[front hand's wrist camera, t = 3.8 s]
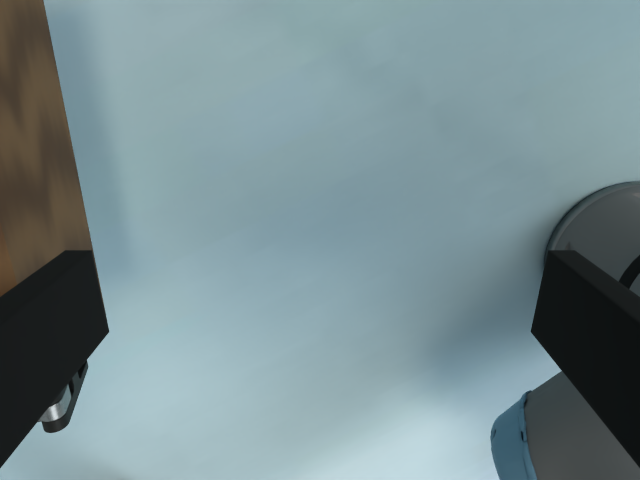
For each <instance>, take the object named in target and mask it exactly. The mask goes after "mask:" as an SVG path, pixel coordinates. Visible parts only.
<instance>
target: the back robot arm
mask: <svg viewBox="0 0 640 480" xmlns="http://www.w3.org/2000/svg"><path fill="white" fill-rule="evenodd" d="M87 369H88V363H87V360H86V361H85V363H84V364H83V365H82V366H81V368H80V369H79V370H78V371H77V373H76V374H75V375H74V376H73V378H72V379H71V380H70V381H69V383H68V384H67V385H66V386H65V388H64V389H63V390H62V391H61V393H60V394H59V395H58V396H57V398H56V399H55V400H54V401H53V403H52V404H51V405H50V407H49V408H48V409H47V410H46V412H45V413H44V414H43V415H42V417H41V418H40V419H39V420H38V422H40V421H42V425H43V428H44V431H45V432H47V433H54V432H57V431H60V430H62V429H64V428H65V427H66V426H67V425H68V424H69V422H70V419H71V416H72V413H73V410H74V407H75V404H76V401H77V398H78V396H79V393H80V390H81V387H82V384H83V381H84V378H85V375H86V372H87Z"/></svg>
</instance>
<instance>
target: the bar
mask: <svg viewBox="0 0 640 480" xmlns="http://www.w3.org/2000/svg"><path fill="white" fill-rule="evenodd" d="M65 250H92V253H93V248H92V243H91V238H90V233H89V228H88V223H87V218H86V213H85V208H84V203H83V197H82V192H81V187H80V182H79V177H78V172H77V167H76V162H75V157H74V152H73V147H72V142H71V137H70V132H69V127H68V122H67V117H66V112H65V107H64V102H63V97H62V92H61V87H60V82H59V77H58V72H57V67H56V62H55V57H54V52H53V47H52V42H51V37H50V32H49V27H48V22H47V17H46V12H45V6H44V1H43V0H0V297H1V296H2V295H3V294H5V293H6V292H8V291H9V290H10V289H12V288H13V287H15V286H16V285H17V284H19V283H20V282H22V281H23V280H24V279H26V278H27V277H29V276H30V275H31V274H33V273H34V272H36V271H37V270H38V269H40V268H41V267H43V266H44V265H45V264H47V263H48V262H49V261H51V260H52V259H54V258H55V257H56V256H58V255H59V254H61V253H62V252H63V251H65ZM93 258H94V253H93ZM94 263H95V258H94ZM95 267H96V263H95ZM96 272H97V268H96ZM97 277H98V273H97ZM98 281H99V278H98ZM99 286H100V283H99ZM100 291H101V288H100ZM101 296H102V293H101ZM102 300H103V298H102ZM103 305H104V303H103ZM104 310H105V308H104ZM105 314H106V313H105ZM106 319H107V318H106Z"/></svg>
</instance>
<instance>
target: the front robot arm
mask: <svg viewBox="0 0 640 480" xmlns="http://www.w3.org/2000/svg"><path fill="white" fill-rule="evenodd" d="M108 333H109V328H108V324H107V319H106V314H105V310H104V305H103V300H102V296H101V291H100V286H99V281H98V277H97V272H96V267H95V263H94V258H93V253H92V250H65V251H63V252H62V253H61V254H59V255H58V256H56V257H55V258H54V259H52V260H51V261H49V262H48V263H47V264H45V265H44V266H43V267H41V268H40V269H38V270H37V271H36V272H34V273H33V274H31V275H30V276H29V277H27V278H26V279H24V280H23V281H22V282H20V283H19V284H17V285H16V286H15V287H13V288H12V289H10V290H9V291H8V292H6V293H5V294H3V295H2V296H1V297H0V468H1V467H2V465H3V464H4V463H5V462H6V460H7V459H8V458H9V457H10V455H11V454H12V453H13V452H14V450H15V449H16V448H17V447H18V445H19V444H20V443H21V442H22V440H23V439H24V438H25V437H26V435H27V434H28V433H29V432H30V430H31V429H32V428H33V427H34V425H35V424H36V423H37V422H38V420H39V419H40V418H41V417H42V415H43V414H44V413H45V412H46V410H47V409H48V408H49V407H50V405H51V404H52V403H53V401H54V400H55V399H56V398H57V396H58V395H59V394H60V393H61V391H62V390H63V389H64V388H65V386H66V385H67V384H68V383H69V381H70V380H71V379H72V378H73V376H74V375H75V374H76V373H77V371H78V370H79V369H80V368H81V366H82V365H83V364H84V363H85V361H86V360H87V359H88V358H89V356H90V355H91V354H92V353H93V351H94V350H95V349H96V348H97V346H98V345H99V344H100V343H101V341H102V340H103V339H104V338H105V336H106V335H107V334H108ZM531 333H532V334H533V335H534V336H535V338H536V339H537V340H538V341H539V343H540V344H541V345H542V346H543V348H544V349H545V350H546V351H547V353H548V354H549V355H550V356H551V358H552V359H553V360H554V361H555V363H556V364H557V365H558V366H559V368H560V369H561V370H562V371H561V372H560V373H558V374H557V375H555V376H554V377H552V378H551V379H549V380H548V381H547V382H545V383H544V384H542V385H541V386H539V387H537V388H536V389H534V390H533V391H531V390H530V391H528V392H526V393H525V394H523V395H522V397H521V399H520V400H519V401H518V402H516V403H515V404H514V405H513V406H511V407H510V408H509V409H508V410H506V411H505V412H504V413H503V414H501V415H500V416H499V417H498V418H497V419H496V420H495V422H494V424H493V426H492V430H491V437H490V438H491V451H492V455H493V460H494V463H495V467H496V470H497V473H498V476H499V478H500V480H640V182H627V183H621V184H617V185H613V186H610V187H607V188H605V189H602V190H600V191H598V192H596V193H594V194H592V195H590V196H589V197H587V198H585V199H584V200H583V201H581V202H580V203H579V204H577V205H576V206H575V207H574V208H573V209H572V210H571V211H570V212H569V213H568V214H567V215H566V216H565V217H564V218H563V219H562V220H561V222H560V223H559V225H558V226H557V227H556V229H555V231H554V232H553V234H552V236H551V238H550V241H549V243H548V246H547V250H546V254H545V261H544V272H543V277H542V281H541V286H540V291H539V296H538V300H537V305H536V310H535V314H534V319H533V324H532V328H531Z"/></svg>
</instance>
